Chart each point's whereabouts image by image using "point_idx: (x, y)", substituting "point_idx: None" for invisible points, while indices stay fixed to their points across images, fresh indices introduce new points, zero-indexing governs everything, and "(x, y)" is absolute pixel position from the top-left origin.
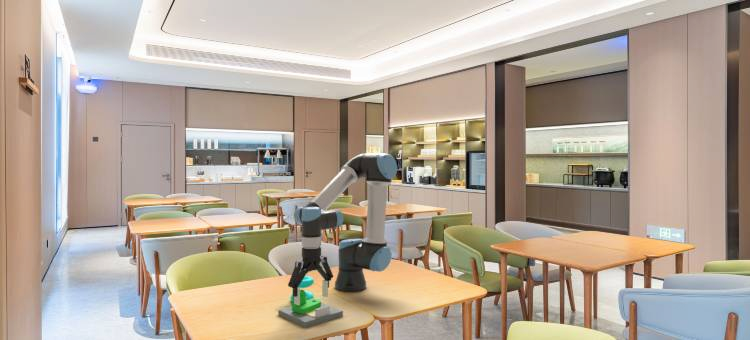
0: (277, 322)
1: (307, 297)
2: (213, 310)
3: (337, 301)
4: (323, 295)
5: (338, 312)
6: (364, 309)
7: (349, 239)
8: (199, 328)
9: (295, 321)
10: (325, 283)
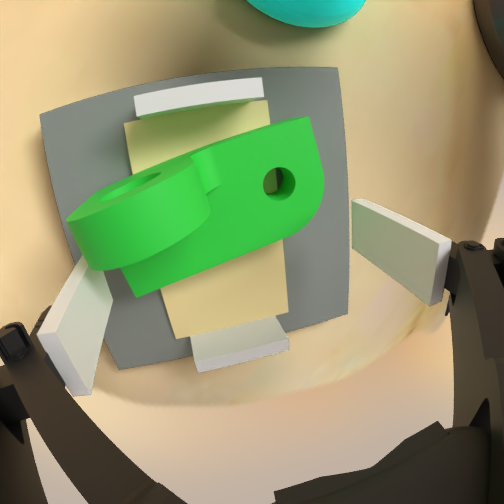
0: (16, 230)
1: (313, 15)
2: None
3: (426, 114)
4: (354, 216)
5: (321, 320)
6: None
7: None
8: None
9: None
10: (416, 282)
